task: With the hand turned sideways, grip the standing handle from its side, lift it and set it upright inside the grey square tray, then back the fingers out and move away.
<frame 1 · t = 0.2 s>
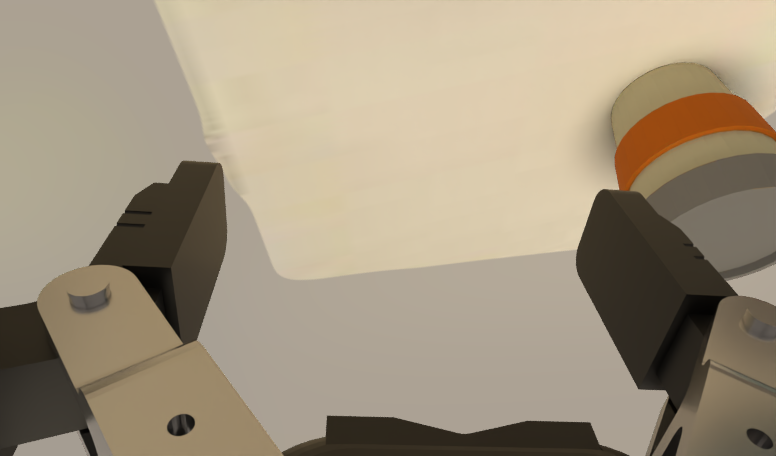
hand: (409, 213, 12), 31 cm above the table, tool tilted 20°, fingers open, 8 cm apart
reusable coffee cup: (662, 103, 50), on the table
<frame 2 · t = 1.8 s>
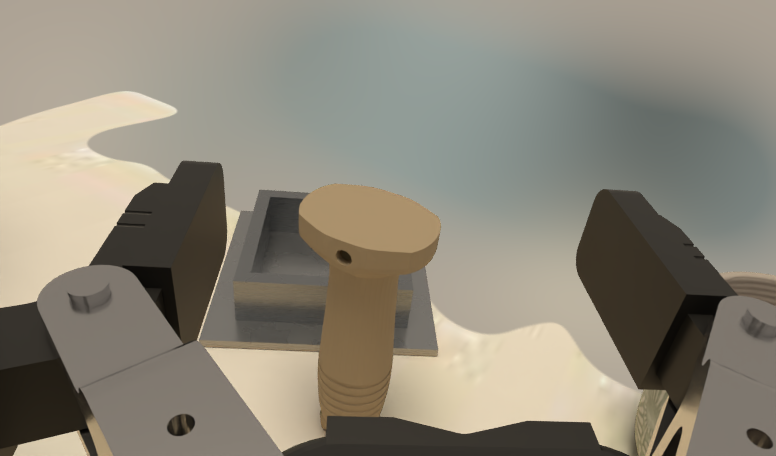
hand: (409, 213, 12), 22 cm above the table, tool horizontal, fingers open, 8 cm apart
grey square tray: (326, 277, 45), on the table
handle: (348, 429, 34), on the table
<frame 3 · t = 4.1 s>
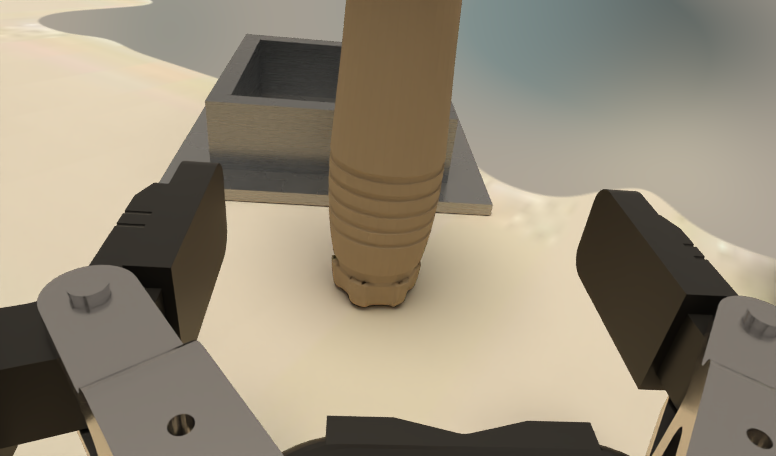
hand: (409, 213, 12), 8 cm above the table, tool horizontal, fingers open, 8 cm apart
grey square tray: (334, 137, 34), on the table
handle: (373, 290, 23), on the table
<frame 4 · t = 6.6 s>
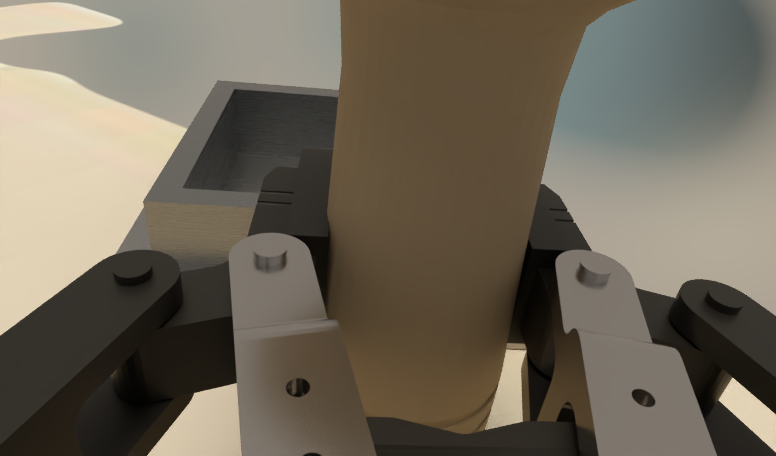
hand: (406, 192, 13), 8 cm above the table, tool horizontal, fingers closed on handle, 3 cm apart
grey square tray: (328, 218, 26), on the table
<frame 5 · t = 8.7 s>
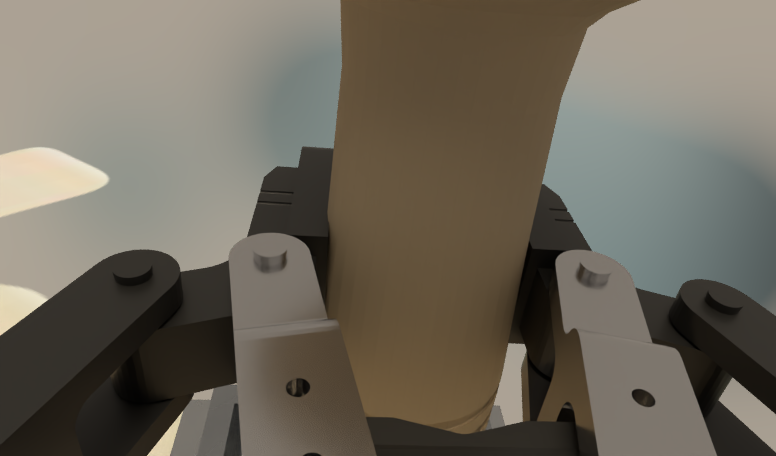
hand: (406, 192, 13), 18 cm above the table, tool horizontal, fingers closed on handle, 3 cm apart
when the fingers open (9 cm above the table, at t = 11.3 s): handle stays where it is, resting on grey square tray.
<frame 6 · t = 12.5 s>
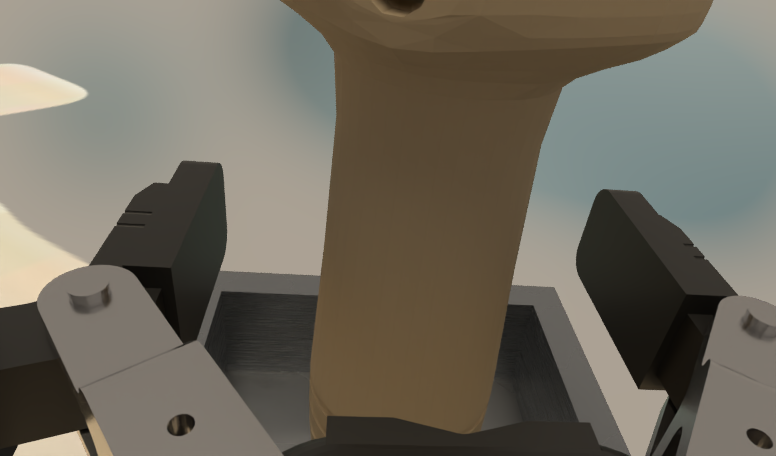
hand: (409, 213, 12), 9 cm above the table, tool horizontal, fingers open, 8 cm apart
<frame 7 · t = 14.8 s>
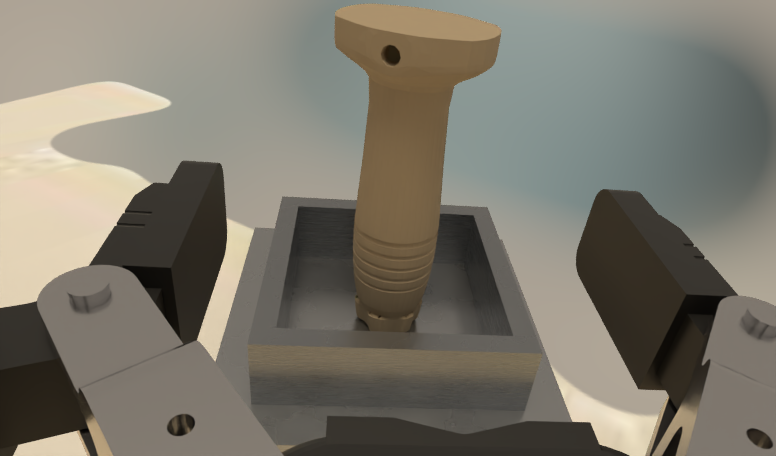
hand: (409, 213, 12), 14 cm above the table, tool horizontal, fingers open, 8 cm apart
grey square tray: (384, 324, 30), on the table
handle: (386, 320, 30), resting on grey square tray
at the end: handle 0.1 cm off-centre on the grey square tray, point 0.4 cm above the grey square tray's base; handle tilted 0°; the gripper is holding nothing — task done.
